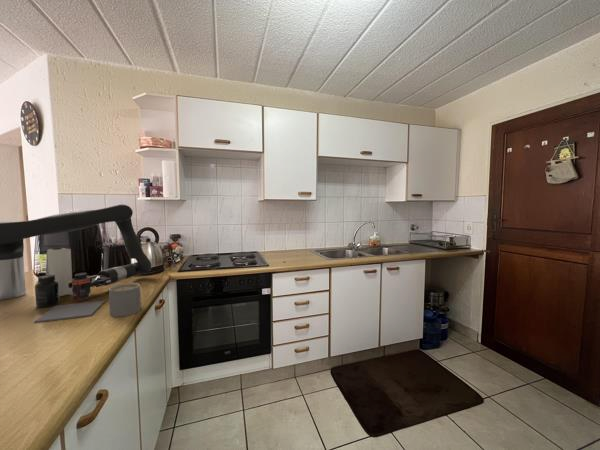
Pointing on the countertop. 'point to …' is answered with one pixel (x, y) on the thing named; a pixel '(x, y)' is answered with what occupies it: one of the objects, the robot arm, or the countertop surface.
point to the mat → (70, 311)
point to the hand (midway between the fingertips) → (75, 286)
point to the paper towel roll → (61, 268)
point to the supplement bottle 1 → (47, 291)
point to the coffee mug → (124, 299)
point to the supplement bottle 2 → (77, 292)
